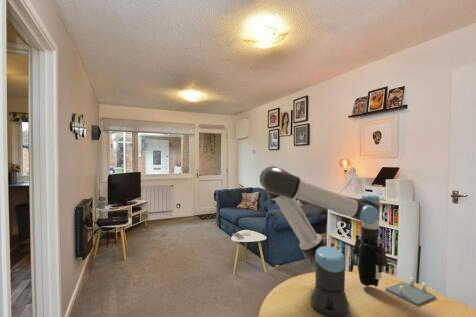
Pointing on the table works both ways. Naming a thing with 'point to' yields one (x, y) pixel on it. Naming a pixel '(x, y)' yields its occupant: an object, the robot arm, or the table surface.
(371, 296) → the table surface
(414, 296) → the pin pad
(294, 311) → the table surface
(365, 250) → the portable speaker
